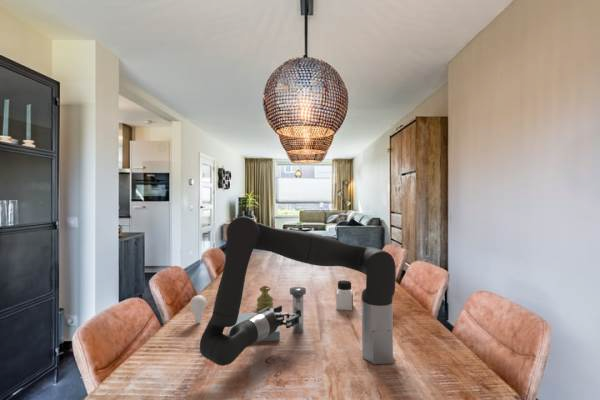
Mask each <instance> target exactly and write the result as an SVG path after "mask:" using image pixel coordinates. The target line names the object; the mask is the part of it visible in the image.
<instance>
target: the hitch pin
mask: <svg viewBox="0 0 600 400" xmlns="http://www.w3.org/2000/svg"><path fill="white" fill-rule="evenodd" d="M306 293H307V288H306V287H304V286H292V287H289V294H290V296H292V313H294V312H296V311H298V310H301V317H299V323H298V324H296V325H294V326H292V332H293V333H295V334H300V333H303V332H304V295H306Z"/></svg>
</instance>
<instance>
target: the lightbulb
mask: <svg viewBox="0 0 600 400" xmlns="http://www.w3.org/2000/svg"><path fill="white" fill-rule="evenodd" d="M189 306H190V308H191V310H192V312H193V316H194V323H196V324H200V323H202V320H203V313H204V310H205V308H206V306H207V299H206V298H205V296H204V295H200V294H199V295H195V296H193V297H192V299H191V300H190V302H189Z"/></svg>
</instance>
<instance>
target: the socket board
mask: <svg viewBox="0 0 600 400" xmlns="http://www.w3.org/2000/svg"><path fill="white" fill-rule="evenodd" d="M256 314H257V313H256V312H255V313H239V315H238V319H237V322H236V324H235V325H237V324H239V323H241V322H243V321H245V320H247V319H248V318H250V317H252V316H254V315H256ZM235 325H234V326H235ZM232 327H233V326H232ZM232 327H228V330H227V334H226V335H227V336H229V332H230V330H231V328H232ZM280 333H281V332H280V326H278V328H277V330H276V331H275V332H274V333H272V334H271V335H269V336H267V337H265V338H264V339H262V340H260V341H259V342H267V341H269V342H270V341H272V342H273V341H280V340H281V339H280V338H281V336H280V335H281V334H280Z"/></svg>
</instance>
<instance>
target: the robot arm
mask: <svg viewBox="0 0 600 400" xmlns="http://www.w3.org/2000/svg"><path fill="white" fill-rule="evenodd" d="M225 234H226V250H225V251H226V252H225V260H224V266H223V270H222V274H221V278H220V282H219V284H218V288H217V292H216V296H215V301H214V305H213V309H212V314H211V317H210V319H209V321H208V323H207V324H206V327H205V328H204V331H203V333H202V335H201V338H200V340H199V352H200V355H201V356H202V357H204V358H205V359H207V360H209V361H210V362H212V363H214V364H216V365H217V366H220V367H221V366H222V367H224V366H229V365H230V364H232V363H233V362H234V361H235V360H236V359H238V357H239V355H241V354H242V352H244V350H245V349H247V348H248V347H250V346H251V345H253V344H255V343H258V342H261V341H260V340H262V339H264V338H265V337H267V336H269V335H271V334H272V333H274V332H275V331H276V330H277V328H278V326H279V327H281V326H283V325H284V326H285V328H286V329H290V328H293V326H294V325H296V324H298V323H299V317H301V310H298V311H296V312H294V313H293V312H292V313H289V312H288V311H287V312H282V311H283V306H282V305H277V306H275V307H273V308H271V309H269V307H266V308H264V309H262V310H258V311H257V314H256V315H254V316H252V317H250V318H248V319H247V320H245V321H243V322H241V323H239V324H237V325H235V324H236V322H237V319H238V315H239V314H240V310H241V304H242V299H243V294H244V287H245V281H246V276H247V275H246V274H247V271H248V266H249V263H250V260H251V256H252V254H253V251H254V250H258V251H259V250H260V251H265V252H270V253H274V254H277V255H279V256H281V257H284V258H288V259H290V260H292V261H296V262H298V263H299V262H300V263H303V264H308V265H311V266H317V267H341V268H346V269H350V270H353V271H357V272H359V273H361V274H364V275H365V276H366V277H365V278H366V279H365V280H366V281H365V282H366V283H365V284H366V285H365V288H364V289H363V290H362V292H361V295H362V301H361V348H362V349H361V350H362V351H361V353H362V357H363V358H364V360H366V361H368V362H369V363H371V364H372V365H385V364H389V365H390V364H393V363H394V339H393V338H394V335H393V333H394V330H393V329H394V328H393V327H394V325H393V324H394V323H393V322H394V321H393V319H394V318H393V315H394V314H393V312H394V311H393V309H394V308H393V300H394V299H393V298H394V295H395V293H396V276H397V275H396V274H397V273H396V272H397V271H396V269H397V268H396V261H395V259H394V256H392V254H390V253H389V252H388V251H386V250H383V249H379V248H378V247H377V248H376V247H370V246H362V245H361V246H360V245H354V244H349V243H345V242H342V241H340V240H338V239H337V240H336V239H334V238H332V237H330V236H329V237H328V236H325V235H322V234H318V233H313V232H309V231H303V230H295V229H285V228H276V227H272V226H268V225H266V224H263V223H259V222H257V221H255V220H254V219H253V218H252V217H249V216H239V217H236V218H233V219H232V220H231V221H230V222H229V223H228V225H227V227H226V232H225ZM234 325H235V326H234ZM232 326H233V327H232ZM229 327H232V328H231V330H230V332H229V336H227V334H224V331H225V328H229Z"/></svg>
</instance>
